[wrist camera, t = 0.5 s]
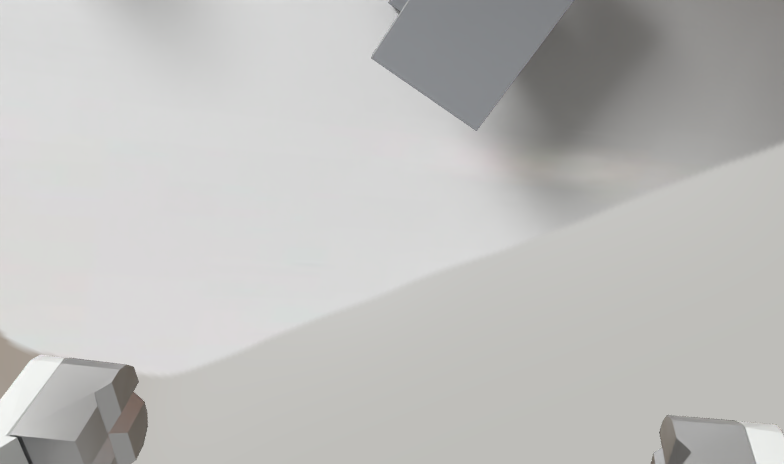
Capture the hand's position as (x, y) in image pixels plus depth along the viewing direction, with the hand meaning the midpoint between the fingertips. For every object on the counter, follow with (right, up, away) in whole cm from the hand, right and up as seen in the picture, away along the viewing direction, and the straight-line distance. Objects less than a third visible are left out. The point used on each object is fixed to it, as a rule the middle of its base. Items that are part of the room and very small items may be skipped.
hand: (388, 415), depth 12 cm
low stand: (+6, +21, +41) cm, 46 cm away
